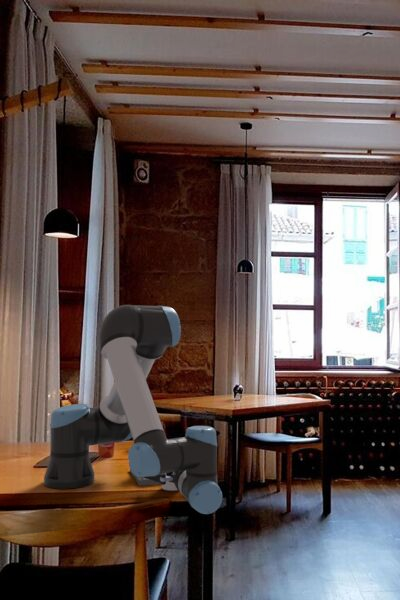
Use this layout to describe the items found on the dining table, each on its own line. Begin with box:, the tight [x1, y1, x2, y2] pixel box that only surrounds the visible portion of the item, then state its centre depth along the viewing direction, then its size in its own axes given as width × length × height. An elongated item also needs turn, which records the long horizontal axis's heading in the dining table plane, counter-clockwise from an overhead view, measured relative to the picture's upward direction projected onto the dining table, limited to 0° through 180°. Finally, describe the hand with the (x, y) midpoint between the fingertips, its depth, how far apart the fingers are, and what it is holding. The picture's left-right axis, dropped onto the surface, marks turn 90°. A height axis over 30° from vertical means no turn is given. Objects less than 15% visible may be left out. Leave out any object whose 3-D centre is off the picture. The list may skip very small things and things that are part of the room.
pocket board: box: [129, 468, 161, 487], centre depth 170 cm, size 12×18×3 cm, turn 16°
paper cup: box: [97, 443, 116, 459], centre depth 201 cm, size 8×8×14 cm
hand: (172, 464), depth 158 cm, fingers open, 13 cm apart
